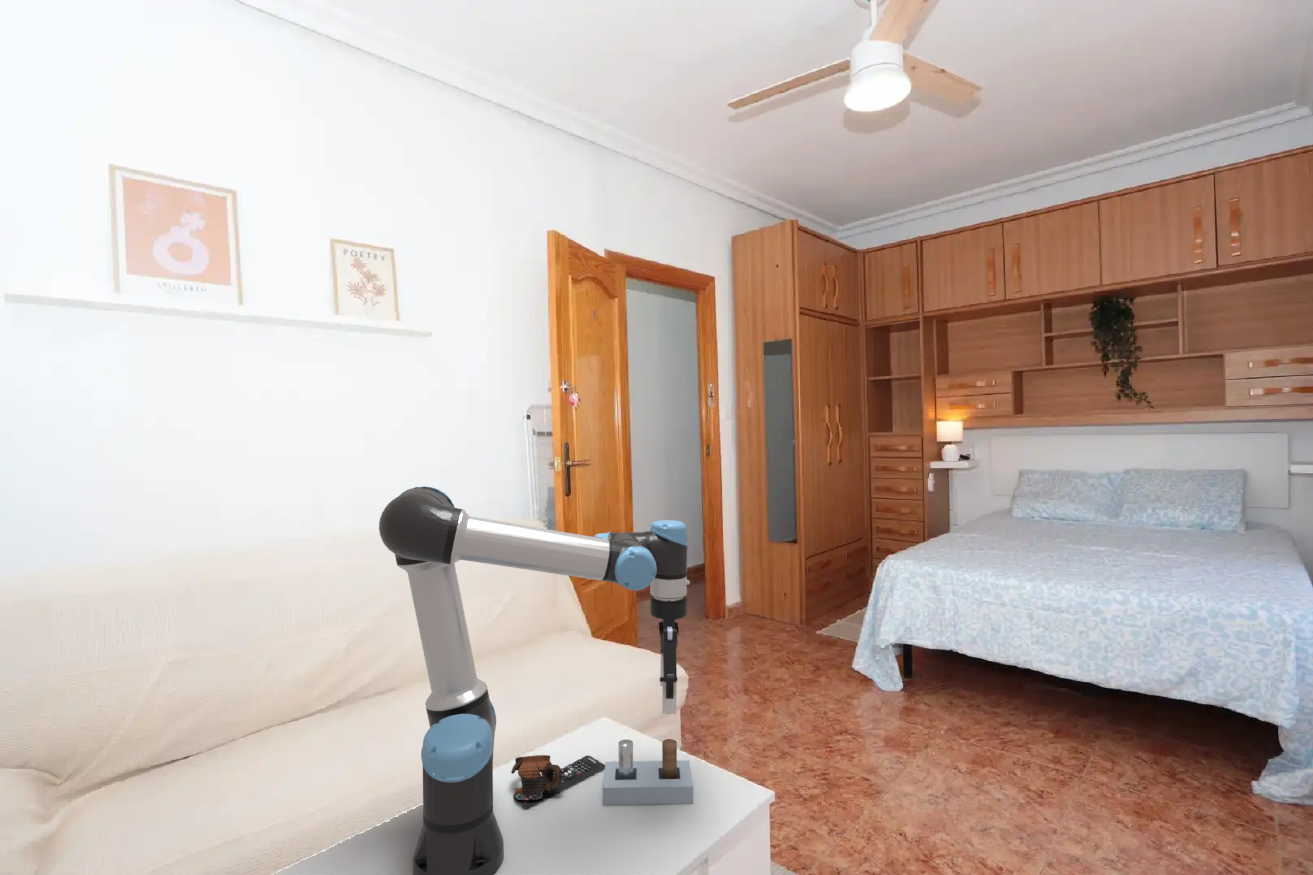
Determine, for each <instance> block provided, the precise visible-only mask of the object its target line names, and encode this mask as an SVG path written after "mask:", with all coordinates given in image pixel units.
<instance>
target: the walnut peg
mask: <svg viewBox="0 0 1313 875" xmlns="http://www.w3.org/2000/svg"><path fill="white" fill-rule="evenodd" d="M677 742H678V741H677V740H675V739H672V738H668V739H664V740H663V741H662V742H661V745H662V747H661V748H662V749H661V751H662V752H661V754H662V755H661V759H662V760H661V761H662V779H677V761H678V758H677V756H678V754H677V753H678V751H677V750H678V749H677V748H678V746H677V745H678V743H677Z"/></svg>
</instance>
